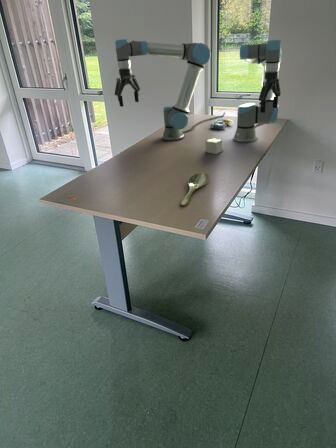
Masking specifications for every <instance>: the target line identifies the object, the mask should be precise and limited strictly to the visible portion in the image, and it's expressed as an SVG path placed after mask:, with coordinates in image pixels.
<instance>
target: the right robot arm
mask: <svg viewBox="0 0 336 448" xmlns="http://www.w3.org/2000/svg"><path fill="white" fill-rule="evenodd" d="M239 59H240V60H243V61H245V62H246V63H248V64H253V65H260V68H262V80H261V82H262V83H261V90H260V93H259V97H258V101H259V102H258V105H257V104H256V103H255V102H248V103H243V104H241V105H238V107H237V112H236V115H237V117H236V119H237V122H236V123H237V124H236V130H235V134H234V136H233V140H234V141H236V142H240V143H250V142H254V141H256V140H257V137H258V135H257V133H256V129H255V128H256V127H258V126H260V125H264V124H268V125H269V124H275V123H276V122H277V120H278V115H279V111H280V104H278V102H279V97H281V87H280V78H279V75H280V73H279V71H280V64H281V62H282V40H281V39H269V40H267V42H266V43H258V44H257V43H256V44H255V43H254V44H242V45H240V46H239Z"/></svg>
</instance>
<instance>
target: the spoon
mask: <svg viewBox="0 0 336 448" xmlns="http://www.w3.org/2000/svg"><path fill="white" fill-rule="evenodd" d="M209 180H210V176H209V174H208V173H206V172H203V171H200V172H199V171H198V172H195V173H194V174H192V175H191V176H189V178H188V180H187V185H188V187H189V188H188V189H189V190H188V192H187V193H186V195H185V196H184V197H183V198H182V200H181V202H180V206H183V207H185V206H187V205H188V203H189V201H190V199H191V197H192V195H193V193H194V191H196V190H197V189H199V188H201V187H203V186H205V185H206V184H207V183H208V182H209Z"/></svg>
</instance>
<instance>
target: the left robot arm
mask: <svg viewBox="0 0 336 448" xmlns="http://www.w3.org/2000/svg"><path fill="white" fill-rule="evenodd" d="M114 45H115V54H116V60H117V67H118V75H119V77H117V78H115V79H116V84H115V89H114V96H117V101H118V103H119V107H122V108H123V107H124V100H123V95H122V93H123V90H124V89H125V86H127V85H130V86H131V88H132V89H133V90H134V91H133V94H134V95H133V96H134V102H135V103H139V102H140V99H139V94H140V93H139V91H140V90H141V86H140V84H139V82H138V80H137V78H136V75H135V74H132V68H131V58H130V57H139V56H151V57H164V58H174V59H175V58H177V59H179V60H181V61H186V66H187V69H186V72H185V75H184V77H183V81H182V84H181V87H180V90H179V94H178V97H177V100H176V103H174V105H166V106H164V107H163V108H162V109H163V111H162V112H163V121H164V130H163V135H162V139H163V140H164V141H167V142H176V141H180V140H182V139H184V137H185V136H184V134H185V133H189V132H191V131H192V130H193V129H194V128H195V127H196V126H197V125H199V124H201V123H203V122H207V121H211V120H214V119H220V118H223V117H224V116H225V115H226V112H223V114H222V115H218V116H214V117H210V118H206V119H204V120H203V119H202V120H201V121H198V122H197V123H195V124H194V125H193V126H192V127H191V128H189V129H187V130H184V131H183V129H185V128H187V126H188V124H189V113H190V110H189V107H190V103H191V101H192V98H193V96H194V95H193V94H194V92H195V90H196V86H197V83H198V80H199V77H200V74H201V72H202V71H203V70H204V69H205V67H206V64H208V63H209V61H210V59H211V57H212V55H211V54H212V53H211V50H210V47H209V46H208V45H207V44H205V43H202V42H189V43H183V42H181V43H180V44H174V43H173V44H172V43H163V42H162V43H161V42H151V41H150V42H148V41H146V40H140V41H138V40H130V41H128V39H127V38H122V39H116V40H115V41H114Z"/></svg>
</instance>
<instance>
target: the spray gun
mask: <svg viewBox="0 0 336 448" xmlns="http://www.w3.org/2000/svg"><path fill="white" fill-rule="evenodd" d="M233 124H234V121H233V120H232V119H228V118H224V117H221V118H216V120H214V121H213V122H212V123H211V124H210V128H211V129H216V130H224V129H226V128H227V127H229V126H230V127H231V126H233Z"/></svg>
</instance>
